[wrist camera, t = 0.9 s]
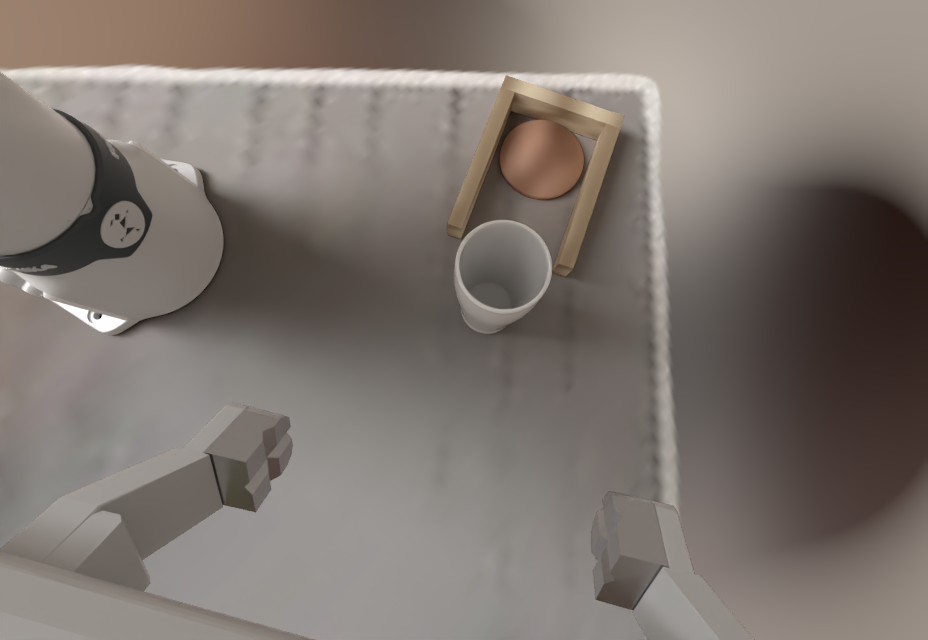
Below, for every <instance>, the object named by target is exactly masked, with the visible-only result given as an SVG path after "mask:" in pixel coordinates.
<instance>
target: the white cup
mask: <svg viewBox="0 0 928 640" xmlns="http://www.w3.org/2000/svg"><path fill="white" fill-rule="evenodd" d="M551 276H552V260H551V256H550V252H549V250H548V248H547V246H546V244H545V242H544V241H543V239H542V238H541V237H540V236H539V235H538V234H537V233H536V232H535V231H534V230H532V229H531V228H529V227H528V226H526V225H524V224H522V223H519V222H516V221H511V220H494V221H490V222H486V223H484V224H481V225H480V226H478V227H476V228H475V229H473V230H472V231H471V232H470V233H469V234H468V235H467V236H466V237H465V238H464V240H463V241H462V243H461V244H460V246H459V249H458V251H457V254H456V259H455V265H454V287H455V292H456V296H457V299H458V302H459V304H460V307H461V314H462V317H463V319H464V321H465V323H466V324H467V325H468V326H469V327H470V328H471V329H473V330H474V331H476V332H479V333H483V334H492V333H496V332H499V331H501V330H502V329H504V328H505V327H506V326H507V325H509V324H511V323H513V322H515V321H517V320H519V319H520V318H522V317H523V316H525V315H526V314H527V313H528V312H530V311H531V310H532V309H533V308H534V307H535V305H536V304H537V303H538V302H539V300H540V299H541V298H542V296H543V295H544V293H545V291H546V290H547V288H548V286H549V283H550V280H551Z"/></svg>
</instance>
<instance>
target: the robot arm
mask: <svg viewBox="0 0 928 640" xmlns="http://www.w3.org/2000/svg"><path fill="white" fill-rule="evenodd" d="M222 252H223V231H222V226H221V223H220V220H219V217H218V215H217V213H216V211H215V210H214V208H213V207H212V205H211V204H210V202H209V201H208V199H207V198H206V195H205V193H204V185H203V179H202V175H201V173H200V171H199V170H198V169H197V168H195V167H194V166H192V165H190V164H188V163H183V162H176V161H170V160H164V159H160V158H158V157H157V156H155V155H154V154H152V153H151V152H150V151H148V150H147V149H145V148H144V147H142V146H141V145H139V144H137V143H135V142H133V141H130V142H128V143H126V142H123V141H118V140H108V139H105V138H104V137H103V136H102V135H101V134H99V133H98V132H97V131H95V130H94V129H92V128H91V127H89V126H88V125H86V124H85V123H83V122H80V121H79V120H77V119H75V118H74V117H72V116H70V115H68V114H66V113H64V112H62V111H59V110H55V109H52V108H50V107H49V106H47V105H46V104H45V103H43V102H42V101H40V100H39V99H38V98H36V97H35V96H33V95H32V94H31V93H29V92H28V91H26V90H25V89H24V88H22V87H21V86H19V85H18V84H17V83H15V82H14V81H12V80H11V79H10V78H8V77H7V76H5V75H4V74H3V73H1V72H0V281H2V282H4V283H7V284H10V285H13V286H16V287H22V286H23V287H22V290H24V291H25V292H27V293H30V294H32V295H35V296H39V297H41V296H42V295H43V296H44V297H45V298H47V299H50V300H51V301H53V302H54V303H56V304H57V305H59V306H60V307H62V308H63V309H65V310H66V311H68V312H70V313H71V314H73V315H74V316H76V317H77V318H79V319H80V320H82V321H83V322H85V323H86V324H88V325H89V326H91V327H93V328H94V329H96V330H97V331H99V332H101V333H105V334H108V335H116V334H119V333H121V332H123V331H124V330H126V329H128V328H129V327H131V326H132V325H134V324H135V323H137V322H138V321H140V320H143V319H146V318H150V317H155V316H159V315H163V314H167V313H170V312H172V311H175V310H177V309H179V308H181V307H183V306H184V305H186V304H188V303H189V302H190V301H192V300H193V299H194V298H196V297H197V296H198V295H199V294H200V293H201V292H202V291H203V290H204V289H205V288H206V286H207V285H208V284H209V283H210V281H211V280H212V278H213V276H214V275H215V273H216V271H217V269H218V266H219V263H220V260H221V257H222ZM100 314H102V317H101V318H100V319H99V316H100ZM290 427H291V426H290V420H289V417H287V416H284V415H280V414H276V413H273V412H269V411H265V410H261V409H257V408H254V407H249V406H245V405H241V404H237V403H233V402H232V403H230V404H227V405H226V406H224V407H223V408H222V409H221V410H220V411H219V412H218V413H217V414H216V415H215V416H214V417H213V418H212V419H211V421H210V422H209V423H208V424H207V425H206V426H205V427H204V428H203V429H202V430H201V431H200V432H199V433H198V434H197V435H196V436H195V437H194V438H193V439H192V440H191V441H190V442H189V443H188V444H187V445H186V446H185V447H184V448H181V447H176V448H174V449H172V450H169V451H167V452H165V453H162V454H160V455H158V456H155V457H153V458H151V459H148V460H146V461H144V462H141V463H139V464H137V465H134V466H132V467H129V468H127V469H125V470H122V471H120V472H118V473H115V474H113V475H111V476H108V477H106V478H104V479H101V480H99V481H97V482H94V483H92V484H90V485H87V486H85V487H83V488H80V489H78V490H76V491H73V492H71V493H69V494H66V495H64V496H62V497H60V498H59V499H58V500H57V501H55V502H54V503H53V504H52V505H51V506H50V507H49V508H47V509H46V510H45V511H44V512H43V513H42V514H40V515H39V516H38V517H37V518H36V519H35V520H33V521H32V522H31V523H30V524H29V525H28V526H26V527H25V528H24V529H23V530H22V531H21V532H20V533H18V534H17V535H16V536H15V537H14V538H13V539H11V540H10V541H9V542H8V543H7V544H6V545H4V546H3V547H2V548H1V549H0V640H315V639H311V638H307V637H304V636H300V635H297V634H293V633H290V632H286V631H283V630H279V629H275V628H272V627H268V626H265V625H261V624H258V623H254V622H250V621H247V620H243V619H240V618H236V617H233V616H229V615H226V614H222V613H218V612H215V611H211V610H208V609H204V608H201V607H197V606H194V605H190V604H186V603H183V602H179V601H176V600H172V599H169V598H165V597H161V596H158V595H154V594H151V593H147V592H144V590H145V589H146V588H147V586H148V585H149V584H150V576H149V574H148V572H147V570H146V567H145V565H144V563H143V561H142V560H143V559H145V558H146V557H148V556H149V555H151V554H152V553H154V552H155V551H157V550H158V549H160V548H161V547H163V546H165V545H166V544H168V543H169V542H171V541H172V540H174V539H175V538H177V537H178V536H180V535H181V534H183V533H184V532H186V531H187V530H189V529H190V528H192V527H193V526H195V525H196V524H198V523H199V522H201V521H202V520H204V519H205V518H207V517H209V516H210V515H212V514H213V513H215V512H216V511H218V510H219V509H221V508H222V507H223V505H226V506H230V507H235V508H239V509H243V510H248V511H252V512H256V511H257V510H258V508H259V507H260V505H261V504H262V502H263V501H264V499H265V498H266V497H267V495H268V494H269V492H270V491H271V482H270V481H271V480H273V479H275V478H276V477H278V476H280V475H281V474H282V473H283V471H284V470H285V468H286V467H287V465H288V462H289V460H290V457H291V454H292V447H293V444H292V438H291V437H290V436H289V435H288V433H287V431H288V430H289V428H290ZM602 501H603V509H602V510H600V511H598V512H597V513H596V516H595V518H594V520H593V525H592V530H591V551H592V553H593V555H594V556H595V558H596V559H597V563H596V565H595V567H594V569H593V576H594V588H595V600H599V601H602V602H606V603H609V604H613V605H616V606H620V607H623V608H627V609H630V610H633V614H634V616H635V618H636V620H637V621H638V623H639V625H640V627H641V629H642V630H643V632H644V634H645V636H646V637H647V639H648V640H755V639H754V638H753V637H752V636H751V635H750V633H749V632H748V631H747V630H746V629H745V627H744V626H743V625H742V624H741V623H740V621H739V620H738V619H737V618H736V617H735V615H734V614H733V613H732V612H731V611H730V609H729V608H728V607H727V606H726V605H725V603H724V602H723V601H722V600H721V599H720V598H719V597H718V595H717V594H716V593H715V592H714V590H713V589H712V588H711V587H710V585H709V584H708V583H707V582H706V581H705V580H704V578H703V577H702V576H699V575H696V574H695V573H694V569H693V566H692V563H691V559H690V555H689V552H688V548H687V545H686V541H685V538H684V534H683V531H682V527H681V524H680V520H679V517H678V513H677V510H676V509H675V507H674V506H672V505H668V504H663V503H659V502H655V501H650V500H648V499H643V498H638V497H634V496H629V495H625V494H620V493H616V492H611V491H608V492H607V493H606V494H605V496H604V498H603V500H602Z"/></svg>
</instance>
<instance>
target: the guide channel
mask: <svg viewBox="0 0 928 640" xmlns="http://www.w3.org/2000/svg"><path fill="white" fill-rule="evenodd" d="M511 111H513V112H516V113H519V114H522V115H525V116H528V117H531V118H533V119H536V120H532V121H528V122H525V123H522V124H520V125H518V126H517V127H515V128H514V129H513V130H512V131H511V132H510V133H509V134H508V135H507V137H506V138H505V140H504V142H503V144H502V147H501V152H500V167H501V171H502V174H503V176H504V178H505V179H506V181H507V182H508V184H509V185H510V186H511V187H512V188H513V189H514V190H516V191H517V192H519V193H520V194H522V195H524V196H527V197H529V198H533V199H542V200H545V199H552V198H556V197H559V196H561V195H563V194H565V193H566V192H568V191H569V190H570V189H571V188H572V187H573V186H574V185H575V184H576V182H577V180H578V179H579V177H580V175H581V173H582V169H583V164H584V156H583V151H582V147H581V145H580V143H579V141H578V140H577V138H576V137H575V136H574V134H573V133H572V132H574V133H577V134H579V135H582V136H585V137H588V138H591V139H594V140H597V142H596V144H595V147H594V150H593V153H592V156H591V159H590V162H589V165H588V168H587V171H586V174H585V176H584V179H583V182H582V185H581V188H580V191H579V194H578V197H577V200H576V203H575V206H574V208H573V211H572V214H571V217H570V220H569V223H568V226H567V229H566V232H565V235H564V238H563V241H562V243H561V246H560V249H559V252H558V255H557V258H556V261H555V264H554V267H553V270H552V273H555V274H558V275H561V276H563V277H566V276H567V275H568V274H569V273H570V272H571V271H572V270H573V268H574V265H575V262H576V259H577V256H578V253H579V250H580V247H581V244H582V241H583V238H584V235H585V232H586V229H587V226H588V223H589V220H590V217H591V214H592V211H593V208H594V206H595V203H596V200H597V197H598V194H599V191H600V188H601V185H602V182H603V179H604V176H605V173H606V170H607V167H608V164H609V161H610V158H611V155H612V152H613V149H614V146H615V143H616V140H617V137H618V134H619V131H620V128H621V125H622V122H623V119H624V116H623V115H620V114H617V113H614V112H611V111H608V110H605V109H602V108H599V107H596V106H594V105H591V104H588V103H585V102H582V101H579V100H576V99H573V98H570V97H567V96H565V95H562V94H559V93H556V92H553V91H550V90H547V89H544V88H541V87H538V86H536V85H533V84H530V83H527V82H524V81H521V80H518V79H515V78H512V77H509V76H507V75H506V77H505V79H504V82H503V84H502V87H501V89H500V92H499V94H498V97H497V99H496V102H495V105H494V107H493V110H492V112H491V115H490V117H489V120H488V122H487V125H486V127H485V130H484V132H483V135H482V137H481V140H480V142H479V145H478V147H477V150H476V152H475V155H474V157H473V160H472V162H471V165H470V167H469V170H468V172H467V175H466V177H465V180H464V182H463V185H462V188H461V190H460V193H459V195H458V198H457V200H456V203H455V205H454V208H453V210H452V213H451V215H450V218H449V220H448V223H447V234H448V235H450V236H452V237H455V238H458V239H461V238H462V236H463V233H464V231H465V228H466V225H467V223H468V220H469V218H470V215H471V213H472V210H473V207H474V205H475V202H476V200H477V197H478V195H479V192H480V189H481V187H482V184H483V182H484V179H485V177H486V174H487V171H488V169H489V166H490V164H491V161H492V159H493V156H494V153H495V151H496V148H497V146H498V143H499V141H500V138H501V135H502V133H503V130H504V128H505V125H506V123H507V120H508V117H509V115H510V112H511Z"/></svg>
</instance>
